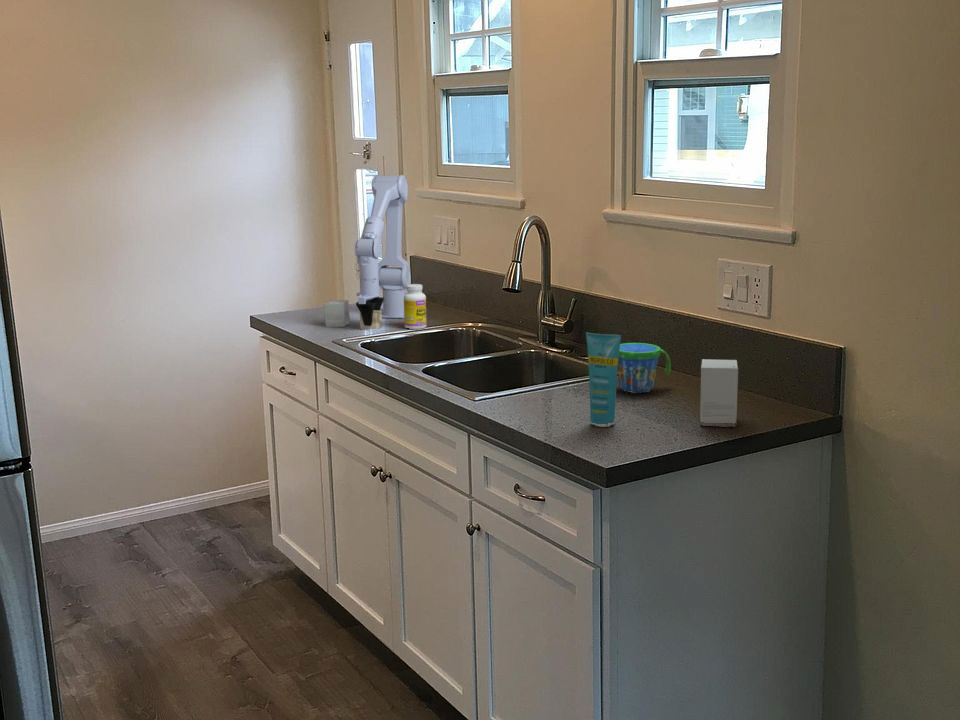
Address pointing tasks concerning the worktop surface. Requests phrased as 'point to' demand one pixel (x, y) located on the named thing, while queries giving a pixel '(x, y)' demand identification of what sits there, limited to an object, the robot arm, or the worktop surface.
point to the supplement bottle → (415, 307)
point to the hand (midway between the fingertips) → (371, 323)
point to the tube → (603, 376)
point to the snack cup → (639, 366)
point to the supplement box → (719, 391)
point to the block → (373, 321)
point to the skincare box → (337, 313)
